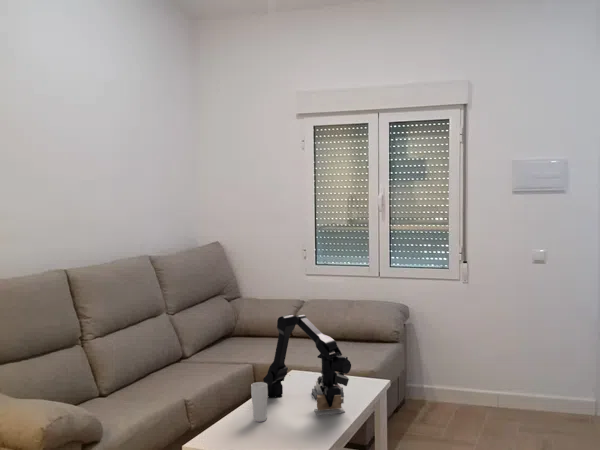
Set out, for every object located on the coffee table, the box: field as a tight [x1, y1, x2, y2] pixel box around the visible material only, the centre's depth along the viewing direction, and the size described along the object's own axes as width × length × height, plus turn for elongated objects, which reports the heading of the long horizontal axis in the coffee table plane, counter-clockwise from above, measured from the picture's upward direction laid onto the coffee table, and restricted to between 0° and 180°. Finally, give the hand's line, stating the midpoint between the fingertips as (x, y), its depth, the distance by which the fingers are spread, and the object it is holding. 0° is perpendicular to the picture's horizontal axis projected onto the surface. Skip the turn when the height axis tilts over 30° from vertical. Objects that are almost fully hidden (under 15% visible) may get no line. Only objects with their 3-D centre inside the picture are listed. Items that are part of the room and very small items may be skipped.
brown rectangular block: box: [316, 394, 345, 410], centre depth 260 cm, size 11×3×6 cm, turn 100°
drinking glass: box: [250, 381, 268, 423], centre depth 253 cm, size 7×7×15 cm
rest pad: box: [314, 405, 346, 416], centre depth 260 cm, size 12×6×1 cm, turn 100°
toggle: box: [315, 380, 322, 390], centre depth 281 cm, size 3×4×4 cm
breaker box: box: [311, 384, 345, 400], centre depth 282 cm, size 13×9×4 cm
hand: (329, 405), depth 260 cm, fingers closed on brown rectangular block, 3 cm apart
